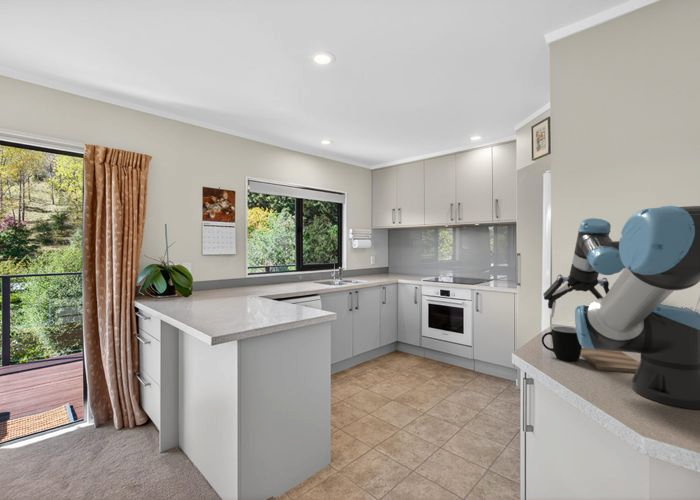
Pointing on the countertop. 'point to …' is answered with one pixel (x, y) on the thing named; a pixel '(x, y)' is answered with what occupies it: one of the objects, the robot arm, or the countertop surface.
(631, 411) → the countertop surface
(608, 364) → the walnut board
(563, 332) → the mug
